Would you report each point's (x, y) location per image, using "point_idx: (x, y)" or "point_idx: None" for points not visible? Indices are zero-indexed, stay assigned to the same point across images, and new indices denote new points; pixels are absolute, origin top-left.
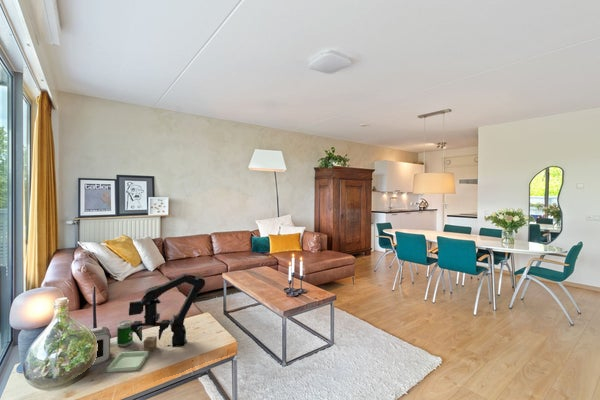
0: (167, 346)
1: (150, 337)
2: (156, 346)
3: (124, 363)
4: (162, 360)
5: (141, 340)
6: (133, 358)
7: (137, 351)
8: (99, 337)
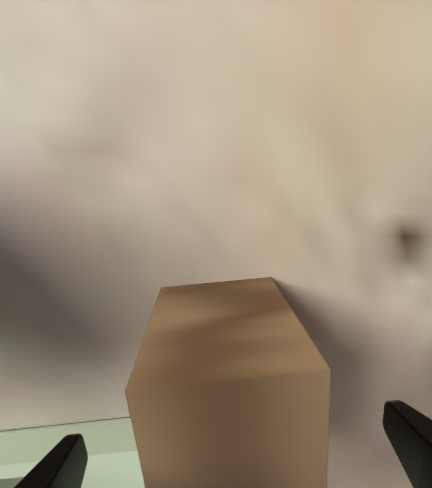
0: (395, 266)
1: (215, 413)
2: (273, 281)
3: None
4: (399, 479)
5: (82, 468)
6: (136, 469)
7: (129, 453)
8: None
